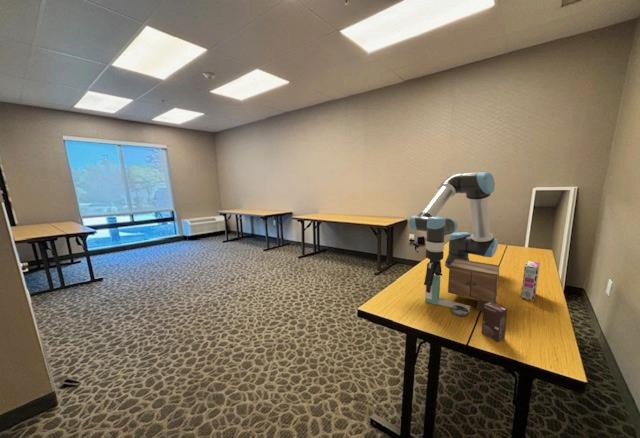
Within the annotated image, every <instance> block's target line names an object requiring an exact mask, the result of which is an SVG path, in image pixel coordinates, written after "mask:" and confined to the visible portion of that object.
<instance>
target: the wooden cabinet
mask: <svg viewBox="0 0 640 438" xmlns="http://www.w3.org/2000/svg"><path fill="white" fill-rule="evenodd" d="M499 276H500V265H499V264H493V263H486V262H479V261H475V260H474V261H473V260H470V261H468V260H462V259H455V260H454V261H453V262H452V264H451V265H450V266H449V268H448V282H447V283H448V285H447V293H448V294H454V295H457V296H461V297H465V298H469V299H473V300H477V307H476V308H477V309H476V311H479V312H482V313H483V309H484V304H486V303H488V302H492V303H495V304H497V297H498V286H499Z"/></svg>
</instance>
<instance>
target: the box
mask: <svg viewBox="0 0 640 438" xmlns="http://www.w3.org/2000/svg"><path fill="white" fill-rule="evenodd" d="M508 311H509V310H508V308H506V307H505V306H502V305H500V304H498V303H496V304H495V303H492V302H488V303H486V304H484V309H483V312H482V321H481V322H482V323H481V324H482V325H481V334H482V335H484V336H487V337H488V338H490V339H492V340H493V341H495V342H497V343H499V342H501V341H504V340H505V339H506V337H505V336H506V327H507V317H508Z"/></svg>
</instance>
